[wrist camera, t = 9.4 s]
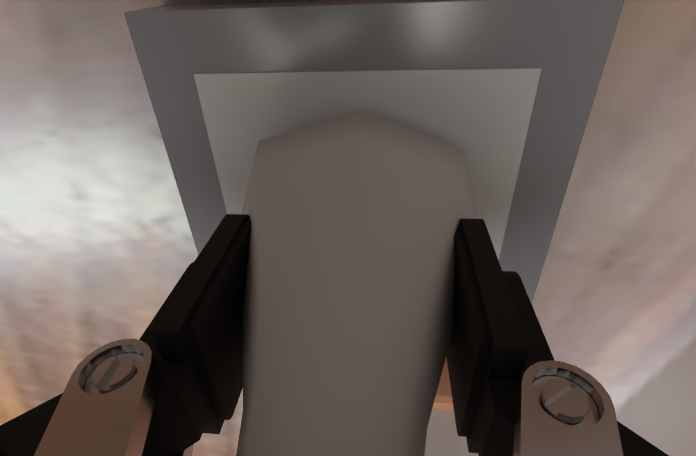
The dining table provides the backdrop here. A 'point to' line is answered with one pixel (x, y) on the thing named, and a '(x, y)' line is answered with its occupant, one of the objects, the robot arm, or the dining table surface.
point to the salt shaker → (444, 424)
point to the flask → (348, 287)
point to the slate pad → (382, 94)
